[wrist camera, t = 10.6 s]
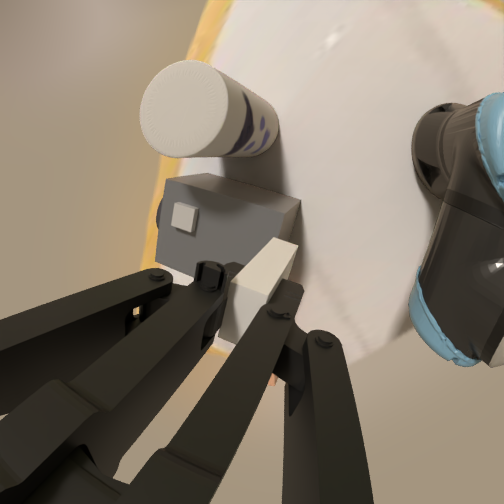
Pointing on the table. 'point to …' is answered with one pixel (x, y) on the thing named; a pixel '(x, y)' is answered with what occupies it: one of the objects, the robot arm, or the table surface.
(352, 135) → the table surface
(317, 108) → the table surface
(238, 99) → the container
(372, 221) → the table surface
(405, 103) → the table surface
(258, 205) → the dark gray knobbed box
